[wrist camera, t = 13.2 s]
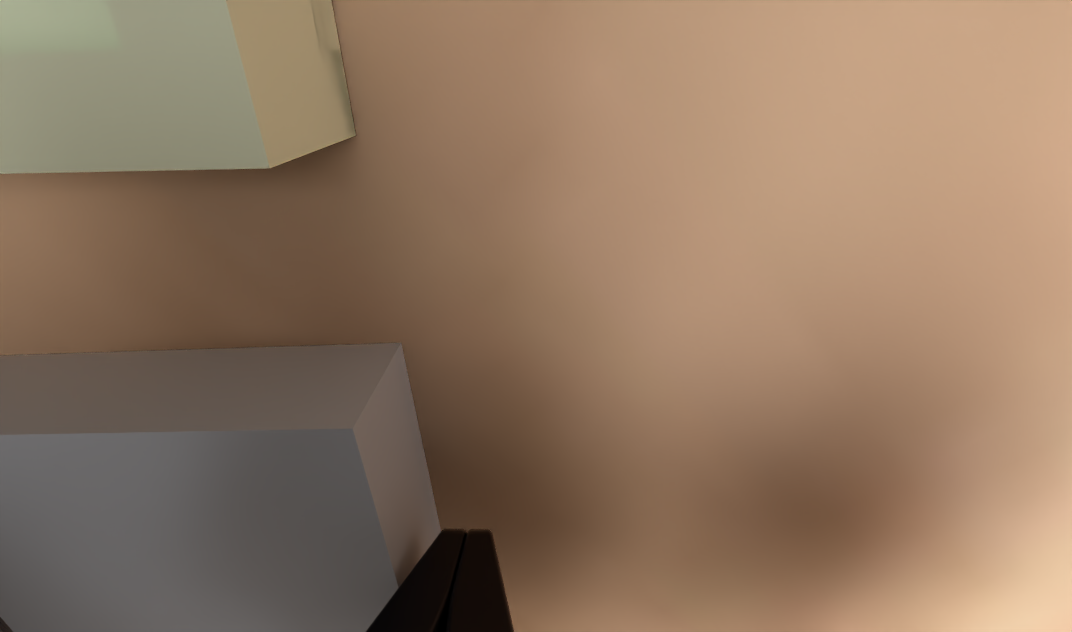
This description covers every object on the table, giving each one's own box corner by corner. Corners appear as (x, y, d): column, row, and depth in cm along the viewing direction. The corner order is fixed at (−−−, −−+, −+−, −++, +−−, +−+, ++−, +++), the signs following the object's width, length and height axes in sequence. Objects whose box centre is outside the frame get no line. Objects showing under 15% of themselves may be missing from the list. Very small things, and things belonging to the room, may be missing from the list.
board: (407, 330, 8) (353, 428, 6) (461, 596, 12) (437, 723, 9) (21, 343, 9) (-158, 438, 7) (174, 594, 12) (87, 715, 10)
